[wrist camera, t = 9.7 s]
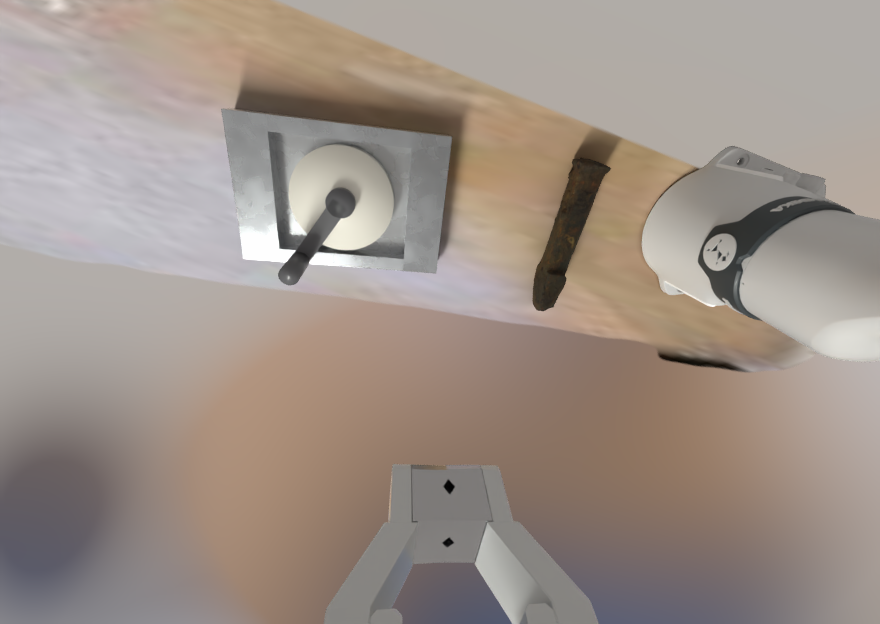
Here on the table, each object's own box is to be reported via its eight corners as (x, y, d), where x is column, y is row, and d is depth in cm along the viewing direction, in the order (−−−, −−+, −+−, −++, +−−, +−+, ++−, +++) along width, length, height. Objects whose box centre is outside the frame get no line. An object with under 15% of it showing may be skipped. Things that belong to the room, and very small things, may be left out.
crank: (413, 190, 41) (415, 206, 35) (341, 282, 46) (330, 312, 39) (329, 119, 37) (312, 121, 31) (259, 228, 42) (231, 250, 35)
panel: (449, 134, 40) (452, 137, 37) (434, 268, 47) (435, 278, 45) (234, 108, 37) (220, 108, 34) (254, 254, 45) (244, 264, 42)
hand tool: (569, 153, 42) (586, 158, 38) (600, 162, 43) (620, 168, 39) (514, 298, 51) (522, 314, 47) (540, 303, 51) (551, 320, 47)
